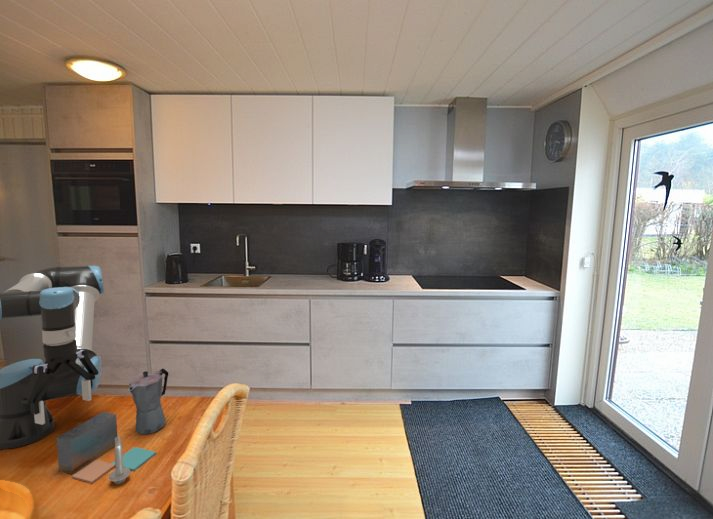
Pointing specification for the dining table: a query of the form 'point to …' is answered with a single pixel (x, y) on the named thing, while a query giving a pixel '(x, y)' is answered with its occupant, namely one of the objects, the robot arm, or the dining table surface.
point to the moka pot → (149, 401)
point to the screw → (119, 464)
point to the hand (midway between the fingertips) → (64, 410)
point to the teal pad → (136, 458)
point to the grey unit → (86, 442)
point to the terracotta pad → (93, 471)
